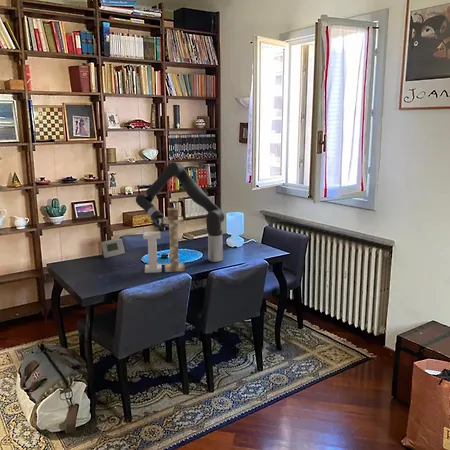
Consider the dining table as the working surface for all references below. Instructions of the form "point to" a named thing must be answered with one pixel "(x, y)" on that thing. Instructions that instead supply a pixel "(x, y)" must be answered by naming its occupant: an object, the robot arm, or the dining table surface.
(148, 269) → the white column stand
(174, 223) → the marbled pedestal stand
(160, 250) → the dining table surface
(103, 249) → the digital clock
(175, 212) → the teal and brown block
